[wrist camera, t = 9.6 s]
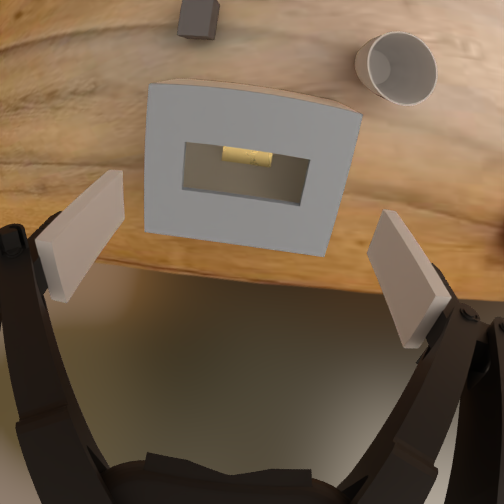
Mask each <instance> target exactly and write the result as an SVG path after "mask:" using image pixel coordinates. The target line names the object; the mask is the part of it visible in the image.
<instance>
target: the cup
mask: <svg viewBox="0 0 504 504" xmlns="http://www.w3.org/2000/svg"><path fill="white" fill-rule="evenodd" d="M355 71H356V74H357V76H358V78H359V79H360V81H361V82H362V83H363V84H364V85H365V86H366V87H367V88H368V89H370V90H371V91H372V92H373V93H375V94H376V95H378V96H380V97H382V98H384V99H386V100H388V101H390V102H392V103H395V104H398V105H402V106H412V105H416V104H419V103H421V102H423V101H425V100H426V99H427V98H428V97H429V96H430V95H431V94H432V92H433V90H434V88H435V86H436V83H437V76H438V71H437V64H436V61H435V58H434V56H433V54H432V52H431V50H430V49H429V48H428V46H427V45H426V44H425V43H424V42H423V41H422V40H421V39H419V38H418V37H416V36H414V35H412V34H410V33H407V32H402V31H393V32H389V33H386V34H383V35H381V36H378V37H376V38H373V39H371V40H370V41H368V42H367V43H366V44H365V45H364V46H363V47H362V48H361V49H360V50H359V51H358V53H357V55H356V58H355Z"/></svg>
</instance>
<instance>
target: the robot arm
mask: <svg viewBox="0 0 504 504" xmlns="http://www.w3.org/2000/svg"><path fill="white" fill-rule="evenodd" d="M124 219H125V216H124V197H123V171H121V170H108V171H107V172H106V173H105V174H103V175H102V176H101V177H100V178H99V179H98V180H96V181H95V182H94V183H93V184H92V185H91V186H90V187H88V188H87V189H86V190H85V191H84V192H83V193H82V194H81V195H80V196H79V197H77V198H76V199H75V200H74V201H73V202H72V203H71V204H70V205H69V206H68V207H67V208H66V209H65V210H64V211H59V212H57V213H56V214H54V215H52V216H50V217H49V218H48V219H47V220H46V221H45V222H44V224H42V225H41V226H40V227H39V229H37V230H36V231H35V232H34V233H33V234H32V235H31V236H30V237H29V238H28V239H27V237H26V233H25V228H24V226H23V225H21V224H9V225H7V226H4V227H2V228H1V229H0V328H1V323H2V326H3V334H4V343H5V350H6V355H7V362H8V368H9V373H10V379H11V384H12V388H13V392H14V397H15V401H16V406H17V409H18V413H19V418H20V419H19V422H17V423H16V433H17V436H18V440H19V444H20V446H21V450H22V453H23V456H24V459H25V461H26V465H27V468H28V470H29V473H30V476H31V479H32V481H33V484H34V486H35V489H36V491H37V494H38V496H39V498H40V501H41V503H42V504H424V502H425V500H426V498H427V496H428V494H429V492H430V490H431V488H432V486H433V484H434V482H435V480H436V478H437V475H438V468H436V467H434V462H435V460H436V458H437V455H438V453H439V451H440V449H441V446H442V444H443V442H444V439H445V437H446V434H447V432H448V430H449V427H450V424H451V422H452V419H453V416H454V414H455V411H456V408H457V405H458V403H459V400H460V407H459V418H458V427H457V436H456V444H455V450H454V457H453V463H452V469H451V475H450V479H449V484H448V489H447V494H446V498H445V502H444V504H504V318H501V317H496V318H495V319H494V320H493V322H492V323H491V325H489V324H486V323H483V322H481V321H480V317H479V315H478V314H477V312H476V311H475V310H474V309H473V308H471V307H470V306H468V305H466V304H463V303H459V301H458V299H457V297H456V295H455V294H454V292H453V290H452V289H451V287H450V286H449V284H448V282H447V280H445V277H444V276H443V274H442V272H441V271H440V270H439V269H438V268H437V267H436V266H435V265H434V264H433V263H430V261H429V259H428V258H427V256H426V255H425V253H424V252H423V250H422V249H421V247H420V246H419V244H418V243H417V241H416V240H415V238H414V237H413V235H412V234H411V232H410V231H409V229H408V228H407V226H406V225H405V224H404V222H403V221H402V219H401V218H400V216H399V215H398V214H397V212H396V211H391V210H387V209H383V211H382V213H381V216H380V219H379V222H378V225H377V227H376V230H375V233H374V236H373V238H372V241H371V244H370V246H369V249H368V251H367V255H368V257H369V260H370V262H371V264H372V267H373V269H374V272H375V274H376V276H377V279H378V281H379V284H380V286H381V289H382V291H383V294H384V296H385V299H386V301H387V304H388V307H389V309H390V312H391V315H392V317H393V320H394V323H395V325H396V328H397V331H398V334H399V336H400V339H401V342H402V345H403V348H419V347H420V346H421V344H422V343H423V341H424V340H425V338H426V339H427V342H428V344H429V345H428V347H427V348H426V350H425V351H424V353H423V354H422V355H421V356H420V358H419V359H418V360H417V362H416V363H417V364H418V365H417V367H416V369H415V371H414V373H413V375H412V377H411V379H410V381H409V382H408V384H407V386H406V388H405V390H404V392H403V393H402V395H401V397H400V399H399V400H398V402H397V404H396V405H395V407H394V409H393V411H392V412H391V414H390V415H389V417H388V419H387V420H386V422H385V424H384V425H383V427H382V428H381V430H380V431H379V433H378V434H377V436H376V438H375V439H374V441H373V442H372V444H371V445H370V447H369V448H368V449H367V451H366V452H365V454H364V455H363V457H362V458H361V459H360V461H359V462H358V464H357V465H356V466H355V468H354V469H353V470H352V472H351V473H350V474H349V475H348V476H347V477H346V479H344V480H343V481H342V482H341V484H339V485H338V486H337V488H335V487H334V486H332V485H330V484H328V483H325V482H323V481H320V480H317V479H314V478H312V474H311V469H310V470H309V469H304V470H303V469H301V470H300V469H268V470H263V471H257V472H251V473H245V474H237V475H226V474H223V473H220V472H217V471H215V470H212V469H209V468H206V467H204V466H201V465H198V464H196V463H193V462H191V461H188V460H184V459H178V458H173V457H168V456H163V455H158V454H153V453H149V452H147V455H146V460H138V461H130V462H126V463H122V464H119V465H116V466H113V467H111V468H110V467H109V465H108V463H107V462H106V460H105V458H104V457H103V455H102V453H101V452H100V450H99V448H98V447H97V445H96V443H95V441H94V439H93V436H92V434H91V432H90V430H89V428H88V425H87V423H86V421H85V419H84V416H83V414H82V412H81V409H80V407H79V404H78V402H77V399H76V397H75V394H74V392H73V389H72V387H71V384H70V381H69V378H68V376H67V373H66V370H65V367H64V364H63V361H62V358H61V355H60V352H59V349H58V345H57V342H56V339H55V336H54V332H53V328H52V325H51V321H50V317H49V313H48V309H47V306H46V301H45V298H44V295H43V294H44V293H45V291H46V289H47V288H48V290H49V293H50V296H51V298H52V300H56V301H61V302H65V303H68V301H69V299H70V298H71V296H72V295H73V293H74V291H75V290H76V288H77V287H78V285H79V284H80V282H81V281H82V279H83V278H84V276H85V275H86V273H87V271H88V270H89V269H90V267H91V266H92V264H93V263H94V261H95V260H96V258H97V257H98V255H99V254H100V252H101V251H102V250H103V248H104V247H105V245H106V244H107V243H108V241H109V240H110V238H111V237H112V236H113V234H114V233H115V231H116V230H117V229H118V227H119V226H120V225H121V223H122V222H123V221H124Z"/></svg>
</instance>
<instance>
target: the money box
mask: <svg viewBox="0 0 504 504" xmlns="http://www.w3.org/2000/svg"><path fill="white" fill-rule="evenodd" d="M362 116H363V114H361V113H359V112H357V111H355V110H353V109H351V108H349V107H347V106H345V105H343V104H341V103H339V102H337V101H334V100H330V99H325V98H321V97H316V96H311V95H307V94H302V93H296V92H291V91H285V90H280V89H274V88H267V87H261V86H254V85H246V84H239V83H230V82H221V81H210V80H198V79H183V78H179V79H172V80H166V81H161V82H155V83H150V84H149V90H148V102H147V117H146V136H145V165H144V224H145V232H149V233H156V234H163V235H171V236H178V237H185V238H192V239H200V240H207V241H214V242H221V243H229V244H236V245H243V246H250V247H257V248H264V249H271V250H278V251H285V252H293V253H300V254H307V255H314V256H321V257H324V256H325V253H326V249H327V246H328V243H329V240H330V236H331V233H332V230H333V226H334V223H335V219H336V216H337V213H338V209H339V206H340V202H341V198H342V195H343V191H344V188H345V184H346V180H347V177H348V173H349V169H350V165H351V161H352V157H353V154H354V150H355V146H356V142H357V137H358V133H359V129H360V125H361V121H362ZM223 146H227V147H234V148H242V149H249V150H256V151H262V152H269V153H273V156H272V162H271V167H270V168H269V167H263V166H256V165H249V164H242V163H235V162H228V161H221V160H222V152H223Z"/></svg>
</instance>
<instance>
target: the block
mask: <svg viewBox="0 0 504 504" xmlns="http://www.w3.org/2000/svg"><path fill="white" fill-rule="evenodd" d="M219 8H220V4H219V3H218V1H217V0H182V5H181V12H180V18H179V24H178V31H177V35H179V36H181V37H184V38H189V39H207V40H214V39H215V32H216V26H217V20H218V14H219Z"/></svg>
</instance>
